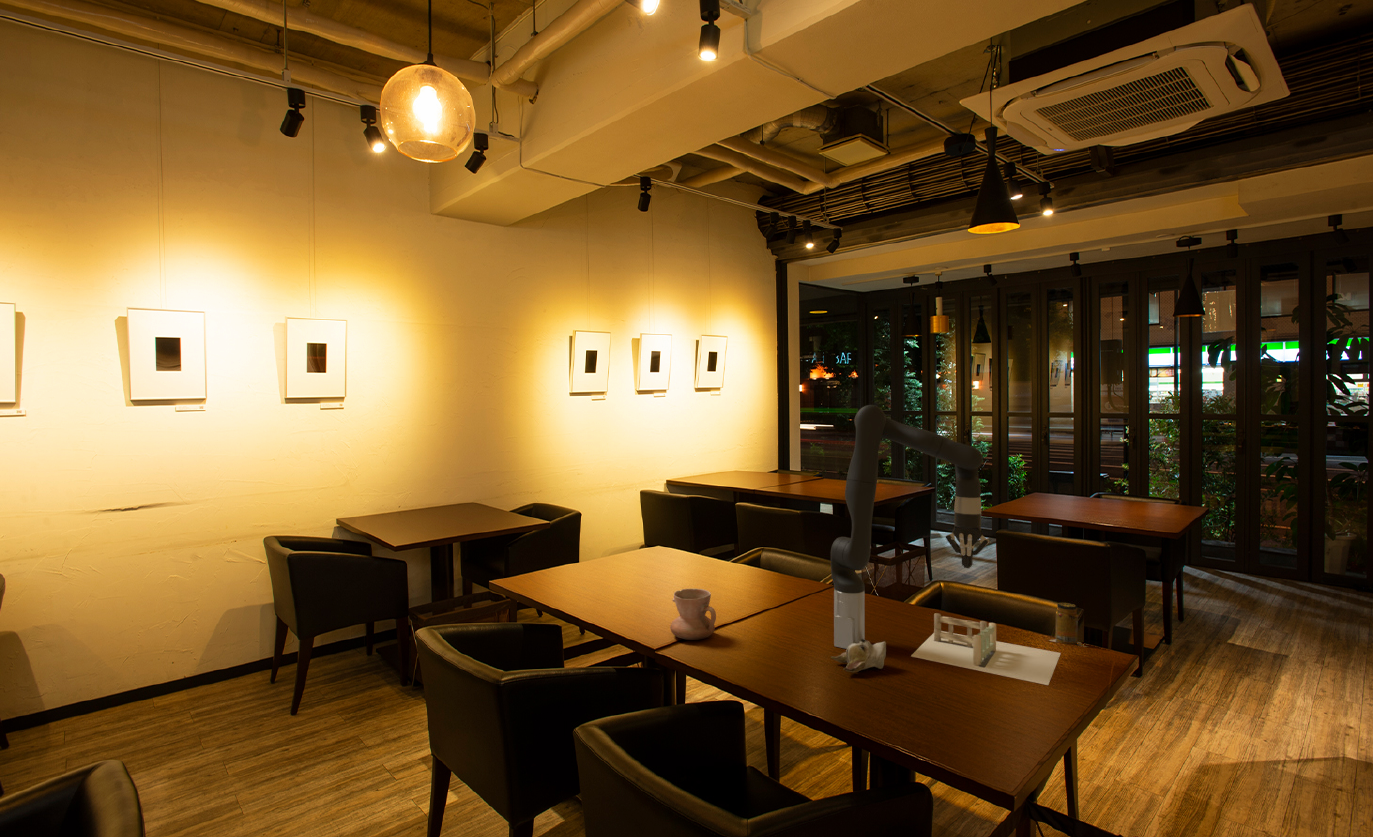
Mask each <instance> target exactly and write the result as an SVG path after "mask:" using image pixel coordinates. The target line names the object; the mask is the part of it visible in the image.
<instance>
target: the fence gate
mask: <svg viewBox="0 0 1373 837" xmlns="http://www.w3.org/2000/svg"><path fill="white" fill-rule="evenodd" d="M972 637H973V664H975V665H981V662H982V658H986V655H990V651H996V641H997V623H995V622H989V623H988V626H987V627H986V628H985V630H982V632H981V633H980V632H978V633H977V634H972Z"/></svg>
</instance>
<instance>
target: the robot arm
mask: <svg viewBox="0 0 1373 837" xmlns="http://www.w3.org/2000/svg"><path fill="white" fill-rule="evenodd" d="M853 420H854V422H853V423H854V426H855V443H854V449H853V453H852V457H851V460H850V463H849V467H848V472H847V476H846V483H845V489H844V499H845V502H846V505H847V509H848V512H849V515H850V519H851V532H850V533H851V535H850V537H847V536H839V537H836V539H835V540H833V543H832V544H831V547H830V548H831V549H830V574H831V579H832V582H833V588H834V589H833V590H834V591H833V628H834V629H833V638H834V639H833V645H834V647H837V648H841V649H847V648H848V647H849V645H851V644H852V643H860V640H861V639H864V640H865V581H864V580H863V579H862V578H861V577H860V575H858V574H857V572H856V571H859V572H860V571H862V570H864V569H866V567H867V566H868V564H869V561H870V558H871V551H872V549H871V548H872V527H873V526H872V524H873V515H874V513H873V512H874V505H875V504H874V503H875V499H876V492H877V486H878V477H879V476H878V475H879V474H878V472H879V452H880V445H881V441H882V439H885V440H888V441H892V442H895V443H897V444H900V445H903V446H906V447H908V448H911V450H915V451H918V452H920V453H922V454H924V455H928V456H931V457H933V458H935V459H939V460H944V461H946V462H948V463H950V464H953V465H954V467H955V468H954V469H955V471H954V472H955V478H956V479H955V499H954V500H955V501H954V506H953V509H954V519H953V520H954V527H953V529H952V532H951V533H949V534H947V535H946V536H945V539H946V541H947V542H948V543H949V545H950V546H951V547H952V549H953V551H954V552H956V553H957V554H958V553H959V554H960V555H961V566H963V568H965V569H970V568H971V567H972V566H973V561H974V559H973V557H974V556H977V555H978V554H980V553H981V552H982V551H983V550H984V548H985V547H986V546H987V545H988V544H989V543H990V541H991V540H990V539H989V538H986V537H985V536H984V535H983V532H982V501H981V500H982V499H981V492H982V491H981V481H980V479H979V468H980V467H981V465H982V464H983V461H984V459H983V458H984V457H983V453H982V452H981V451H980V450H979V449H978V448H976V447H973V446H971V445H967V444H964V443H963V442H962V443H961V442H958V441H955V440H953V439H950V438H949V437H946V436H943V435H941V434H938V433H935V432H934V431H929V430H926V429H923V428H919V427H914V426H911V425H908V424H904V423H901V422H898V421H896V420H894V419H892V418H889V417H888V416H886V414H885V412H884V411H883V409H881V408H880V407H879V406H877V405H876V404H867V405H864V406H863V407H861V408H860V409H858V411H857V412H856V414H855V417H854V419H853ZM956 540H957V541H958V542H957V541H956ZM978 542H979V545H978V546H977V547H976V548H975V544H977V543H978ZM974 548H975V549H974Z"/></svg>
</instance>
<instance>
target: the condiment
mask: <svg viewBox="0 0 1373 837" xmlns="http://www.w3.org/2000/svg"><path fill="white" fill-rule="evenodd" d="M1077 612H1078V611H1077V605H1075V604H1073V603H1069V602H1059V603H1057V608H1056V612H1055V639H1050V640H1049V639H1048V641H1050V642H1055V643H1061V644H1064V645H1071V646H1076V647H1082V646H1083V647H1082V648H1085V647H1088V646H1084V644H1086V645H1088V644H1087V643H1084V644H1083V645H1081V644H1082V643H1083V642H1080V641H1079V637H1078V636H1079V635H1078V634H1079V633H1078V631H1079V630H1078V629H1079V617H1078V613H1077ZM1077 643H1078V644H1077Z"/></svg>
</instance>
